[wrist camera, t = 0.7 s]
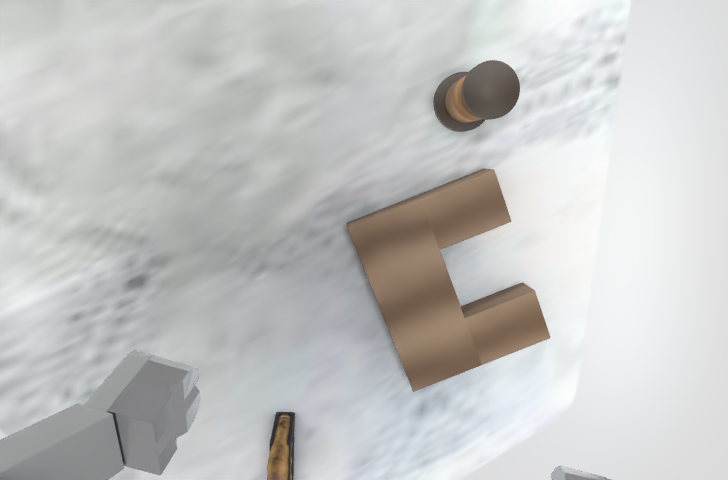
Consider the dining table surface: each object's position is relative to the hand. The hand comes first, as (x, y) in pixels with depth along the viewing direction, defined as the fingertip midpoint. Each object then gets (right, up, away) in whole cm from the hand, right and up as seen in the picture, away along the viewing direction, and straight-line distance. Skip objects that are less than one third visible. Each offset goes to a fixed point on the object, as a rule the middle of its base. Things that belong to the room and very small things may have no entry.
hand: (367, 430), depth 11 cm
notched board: (+8, +1, +37) cm, 38 cm away
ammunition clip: (-8, -18, +40) cm, 44 cm away
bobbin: (+9, +17, +34) cm, 39 cm away
